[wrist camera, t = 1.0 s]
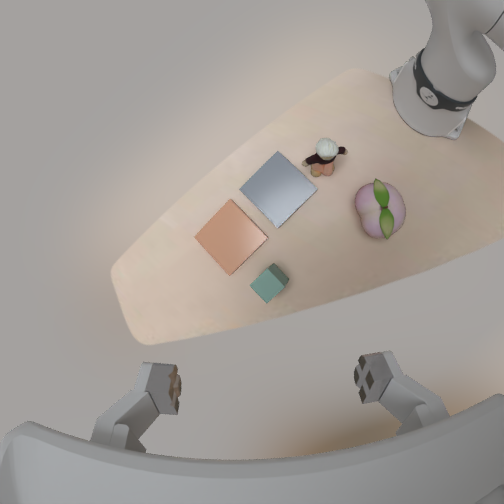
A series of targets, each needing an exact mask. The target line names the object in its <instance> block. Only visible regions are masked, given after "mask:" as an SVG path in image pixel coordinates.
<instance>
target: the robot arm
mask: <svg viewBox="0 0 504 504" xmlns="http://www.w3.org/2000/svg"><path fill="white" fill-rule="evenodd" d="M425 1H426V3H427V6H428V8H429V10H430V13H431V17H432V23H433V28H432V32H431V35H430V38H429V41H428V43H427V45H426V47H425V48H424V49H422V50H421V51H420V52H419V53H417V55H416V59H415V58H414V57H411V58H410V59H409V61H406V62H405V64H404V66H402V67H400V68H398V69H396V70H393V71H392V72H391V73H390V75H389V78H390V81H391V83H392V85H393V100H394V104H395V107H396V109H397V111H398V113H399V114H400V116H401V117H402V119H403V120H404V121H405V122H406V123H407V124H408V125H409V126H410V127H412V128H413V129H414V130H416V131H418V132H420V133H422V134H424V135H427V136H434V137H436V136H444V137H447V138H449V139H452V140H456V139H457V138H458V137H459V135H460V133H461V130H462V128H463V126H464V123H465V121H466V118H467V116H468V113H469V111H470V108H471V106H472V103H473V102H474V101H475V99H476V98H477V95H478V94H479V93H480V92H481V91H482V90H483V89H484V88H486V87H487V86H488V85H489V84H490V83H491V82H492V81H493V79H494V77H495V74H496V63H495V59H494V55H493V52H492V50H491V48H490V46H489V44H488V43H487V41H486V39H485V38H484V36H483V35H482V34H485V35H486V36H487V37H488V38H489V39H491V40H492V41H493V42H494V43H495V44H496V45H497V46H499V47H500V48H501V49H502V50H503V51H504V0H425ZM455 129H456V131H455ZM358 361H359V365H357V366H356V368H355V371H354V380H355V384H356V386H358V387H359V388H360V391H359V395H360V398H361V401H362V404H364V403H370V402H375V401H379V403H380V404H381V405H382V406H384V407H385V408H386V409H387V410H388V411H389V412H390V413H391V414H392V415H393V416H395V417H396V418H397V419H398V420H399V421H400V422H401V423H402V425H401V426H400V427H399V429H398V430H397V431H396V435H397V436H395V437H391V438H388V439H384V440H381V441H377V442H374V443H369V444H365V445H361V446H356V447H352V448H347V449H342V450H336V451H331V452H325V453H319V454H312V455H304V456H296V457H285V458H273V459H254V460H214V459H194V458H182V457H172V456H164V455H156V454H149V453H146V449H145V447H144V446H143V445H142V444H141V443H140V441H139V440H138V439H139V438H140V436H141V435H142V434H143V433H144V432H145V431H146V430H147V429H148V427H149V426H150V425H151V424H152V423H153V422H154V421H155V419H156V418H157V417H158V416H159V414H173V415H177V414H178V409H179V401H178V397H179V396H180V395H181V378H180V375H178V374H177V371H178V369H177V366H176V365H173V364H161V363H150V362H143V363H142V364H141V367H140V370H139V374H138V377H137V381H136V384H135V387H134V390H130V391H129V392H128V393H127V394H126V395H124V396H123V397H122V398H121V399H120V400H118V401H117V402H116V403H115V404H114V405H113V406H111V407H110V408H109V409H108V410H107V411H105V412H104V413H103V414H102V415H101V416H99V417H98V418H97V421H96V424H95V427H94V430H93V433H92V437H91V440H90V441H88V440H84V439H81V438H78V437H74V436H71V435H68V434H65V433H62V432H59V431H56V430H53V429H51V428H48V427H45V426H43V425H40V424H38V423H35V422H32V421H27V422H24V423H22V424H21V425H19V426H17V427H16V428H14V429H13V430H11V431H10V432H8V433H7V434H6V435H5V437H4V438H3V439H2V441H1V443H0V504H504V395H502V394H495V395H493V396H491V397H489V398H487V399H486V400H484V401H482V402H480V403H478V404H476V405H474V406H472V407H470V408H468V409H466V410H463V411H461V412H459V413H457V414H455V415H452V416H449V414H448V412H447V410H446V408H445V406H444V403H443V401H442V399H441V398H440V397H439V396H438V395H436V394H435V393H433V392H432V391H430V390H428V389H427V388H425V387H424V386H422V385H420V384H419V383H418V382H416V381H415V380H413V379H412V378H410V377H409V376H407V375H403V373H402V371H401V369H400V367H399V365H398V363H397V361H396V359H395V357H394V355H393V353H392V352H391V351H385V352H378V353H372V354H366V355H361V356H360V358H359V360H358Z"/></svg>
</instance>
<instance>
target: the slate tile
mask: <svg viewBox="0 0 504 504" xmlns="http://www.w3.org/2000/svg"><path fill="white" fill-rule="evenodd" d="M239 190H240V191H241V192H242V193H243V194H244V195H245V196H246V197H247V198H248V199H249V200H250V201H251V202H252V203H253V204H254V205H255V206H256V207H257V208H258V209H259V210H260V211H261V212H262V213H263V214H264V215H265V216H266V217H267V218H268V219H269V220H270V221H271V222H272V223H273V224H274V225H275V226H276V227H277V228H279V227H280V226H281V225H282V224H283V223H284V222H285V221H286V220H287V219H288V218H289V217H290V216H291V215H292V214H293V213H294V212H295V211H296V210H297V209H298V208H299V207H300V206H301V205H302V204H303V203H304V202H305V201H306V200H307V199H308V198H310V197H311V196H312V195H313V194H314V193H315V192H316V191H317V190H318V189H317V188H316V187H315V186H314V185H313V184H312V183H311V182H310V181H309V180H308V179H307V178H306V177H305V176H304V175H303V174H302V173H301V172H300V171H299V170H298V169H297V168H296V167H295V166H294V165H292V164H291V163H290V162H289V161H288V160H287V159H286V158H285V157H284V156H283V155H282V154H281V153H279V152H278V151H277V152H276V153H275V154H274V155H273V156H272V157H271V158H270V159H269V160H268V161H267V162H266V163H265V164H264V165H263V166H262V167H261V168H260V169H259V170H258V171H257V172H256V173H255V174H254V175H253V176H252V177H251V178H250V179H249V180H248V181H247V182H246V183H245V184H244V185H243V186H242V187H241V188H240V189H239Z"/></svg>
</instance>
